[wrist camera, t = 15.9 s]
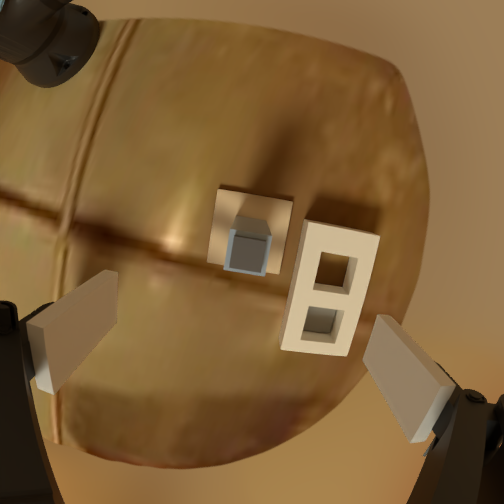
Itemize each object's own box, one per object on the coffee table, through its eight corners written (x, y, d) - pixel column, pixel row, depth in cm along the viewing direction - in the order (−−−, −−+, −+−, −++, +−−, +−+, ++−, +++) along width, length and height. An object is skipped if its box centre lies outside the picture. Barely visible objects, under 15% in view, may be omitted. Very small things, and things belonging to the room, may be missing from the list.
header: (304, 218, 43) (308, 221, 39) (370, 232, 43) (380, 236, 40) (278, 338, 46) (280, 349, 43) (340, 345, 47) (346, 356, 43)
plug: (236, 215, 42) (229, 229, 29) (266, 220, 42) (272, 237, 29) (231, 244, 43) (222, 271, 30) (260, 249, 43) (265, 278, 30)
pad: (218, 188, 42) (217, 188, 41) (292, 201, 42) (292, 201, 41) (207, 261, 44) (206, 262, 43) (278, 272, 44) (279, 274, 44)
